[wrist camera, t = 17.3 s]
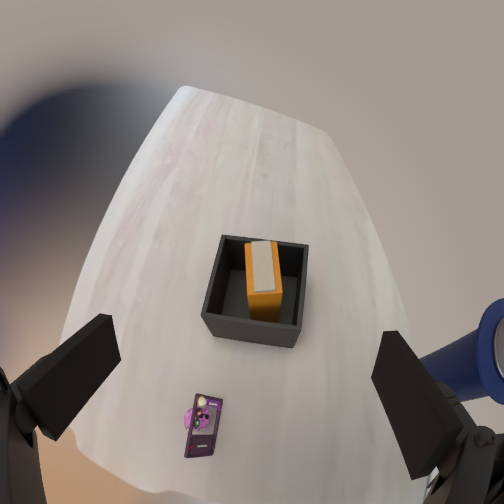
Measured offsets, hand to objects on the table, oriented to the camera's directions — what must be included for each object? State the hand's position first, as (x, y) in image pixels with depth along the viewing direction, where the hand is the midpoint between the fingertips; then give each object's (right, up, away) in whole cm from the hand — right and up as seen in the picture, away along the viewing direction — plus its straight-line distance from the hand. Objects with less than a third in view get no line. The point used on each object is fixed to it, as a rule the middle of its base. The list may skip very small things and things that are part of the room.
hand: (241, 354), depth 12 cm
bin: (+2, -4, +32) cm, 32 cm away
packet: (+2, -3, +31) cm, 32 cm away
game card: (-7, -20, +22) cm, 31 cm away
